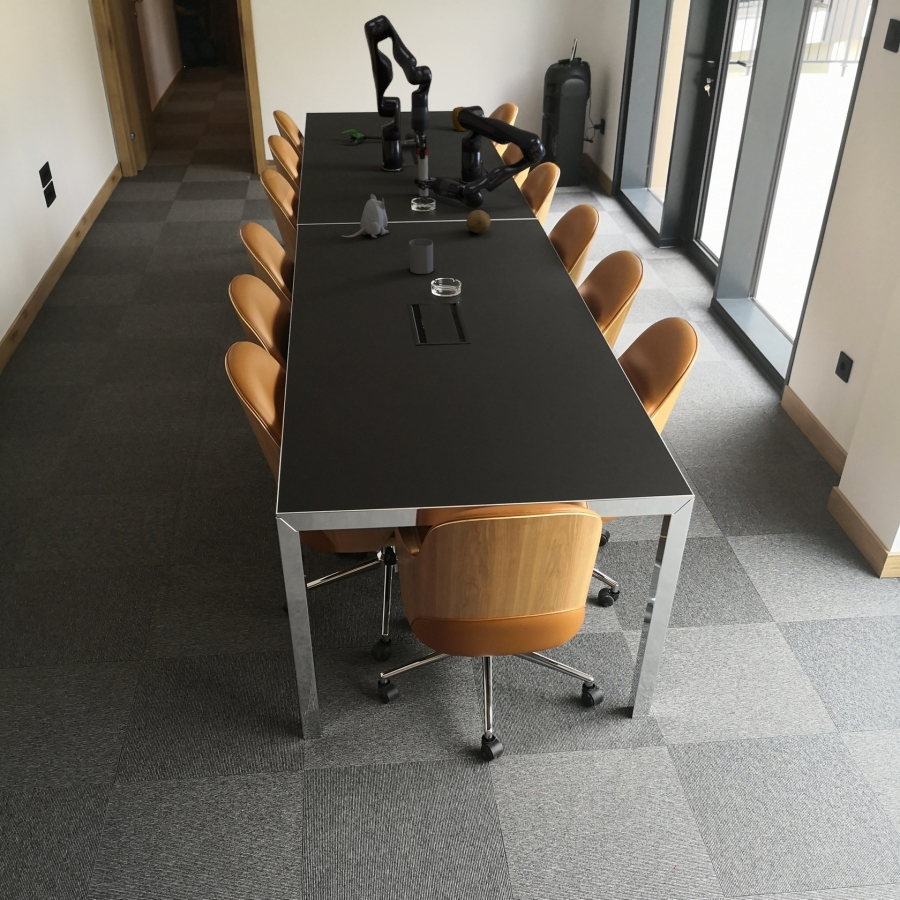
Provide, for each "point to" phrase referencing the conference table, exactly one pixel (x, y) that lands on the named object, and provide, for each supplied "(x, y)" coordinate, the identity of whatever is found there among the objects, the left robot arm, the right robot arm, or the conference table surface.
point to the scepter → (359, 137)
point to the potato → (478, 221)
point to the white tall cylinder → (423, 173)
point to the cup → (421, 256)
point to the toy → (373, 218)
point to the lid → (425, 151)
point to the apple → (454, 119)
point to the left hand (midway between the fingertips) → (420, 156)
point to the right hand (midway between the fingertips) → (419, 179)
